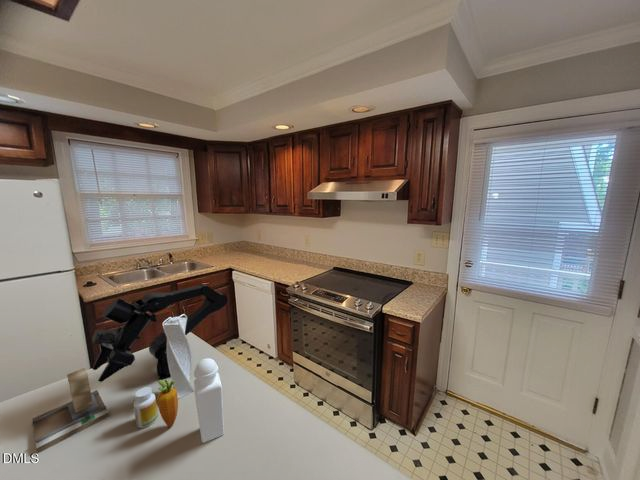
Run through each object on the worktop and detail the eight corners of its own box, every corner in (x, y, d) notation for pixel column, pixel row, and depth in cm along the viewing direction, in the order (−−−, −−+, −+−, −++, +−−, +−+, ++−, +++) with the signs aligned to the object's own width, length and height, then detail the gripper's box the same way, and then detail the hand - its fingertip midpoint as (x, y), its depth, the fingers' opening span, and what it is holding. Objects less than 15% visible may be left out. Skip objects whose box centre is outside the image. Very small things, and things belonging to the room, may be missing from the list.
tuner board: (97, 394, 90) (96, 388, 90) (109, 416, 80) (108, 410, 80) (33, 423, 78) (31, 416, 78) (37, 453, 69) (36, 446, 69)
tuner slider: (93, 396, 86) (87, 363, 84) (101, 414, 79) (95, 379, 77) (68, 408, 82) (61, 373, 80) (74, 428, 74) (67, 390, 72)
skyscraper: (199, 391, 90) (191, 313, 86) (176, 403, 85) (166, 321, 80) (190, 380, 96) (182, 307, 91) (167, 391, 90) (157, 314, 86)
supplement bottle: (162, 414, 81) (158, 385, 79) (149, 429, 76) (145, 399, 74) (145, 413, 81) (141, 384, 80) (132, 428, 76) (127, 398, 75)
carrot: (184, 421, 78) (179, 375, 75) (170, 436, 73) (164, 387, 71) (171, 417, 79) (166, 372, 77) (156, 431, 75) (150, 383, 72)
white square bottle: (200, 446, 70) (192, 370, 67) (198, 427, 76) (191, 357, 72) (226, 435, 73) (219, 362, 70) (222, 418, 79) (216, 350, 75)
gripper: (102, 311, 91) (64, 356, 84) (115, 327, 78) (72, 381, 72) (133, 324, 98) (100, 366, 91) (149, 340, 85) (113, 390, 79)
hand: (96, 375), depth 83 cm, fingers open, 9 cm apart
